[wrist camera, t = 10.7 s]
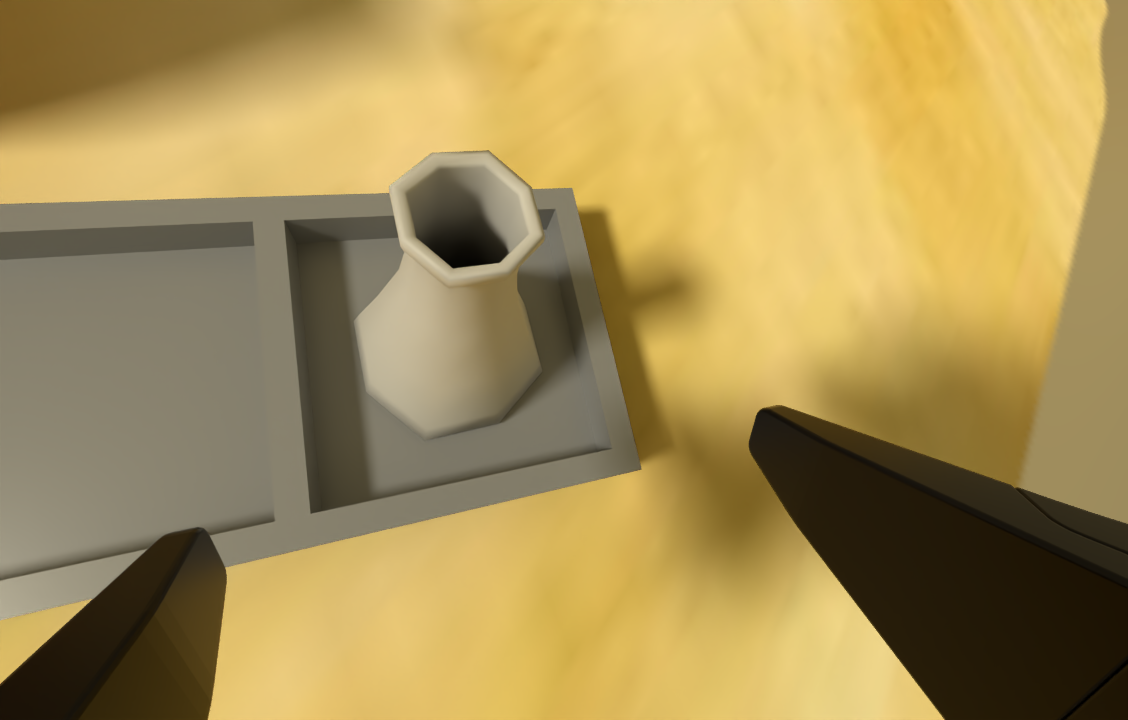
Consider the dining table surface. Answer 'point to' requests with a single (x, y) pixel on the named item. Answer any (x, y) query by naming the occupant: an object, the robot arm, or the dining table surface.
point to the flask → (454, 297)
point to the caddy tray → (254, 385)
